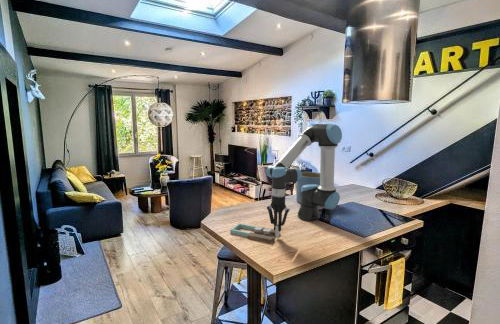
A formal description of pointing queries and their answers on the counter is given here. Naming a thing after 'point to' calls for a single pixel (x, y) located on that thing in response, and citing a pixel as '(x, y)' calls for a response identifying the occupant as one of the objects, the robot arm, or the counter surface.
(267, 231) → the grey wood-grain cube
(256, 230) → the grey cube-shaped block
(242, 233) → the tray
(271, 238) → the slot board
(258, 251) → the counter surface
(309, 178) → the planter
